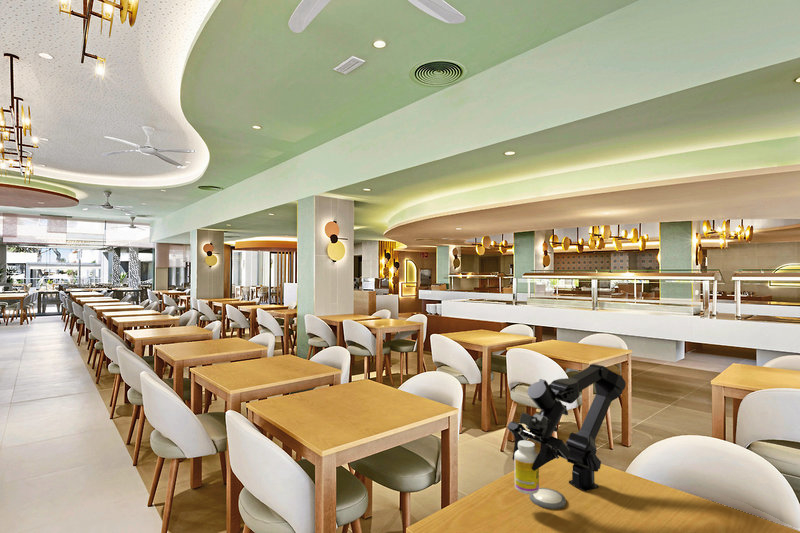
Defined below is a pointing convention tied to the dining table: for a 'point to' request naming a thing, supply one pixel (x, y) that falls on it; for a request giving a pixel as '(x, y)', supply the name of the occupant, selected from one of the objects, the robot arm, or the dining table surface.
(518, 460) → the supplement bottle
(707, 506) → the dining table surface
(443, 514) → the dining table surface
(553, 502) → the push button
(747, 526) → the dining table surface
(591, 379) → the robot arm
